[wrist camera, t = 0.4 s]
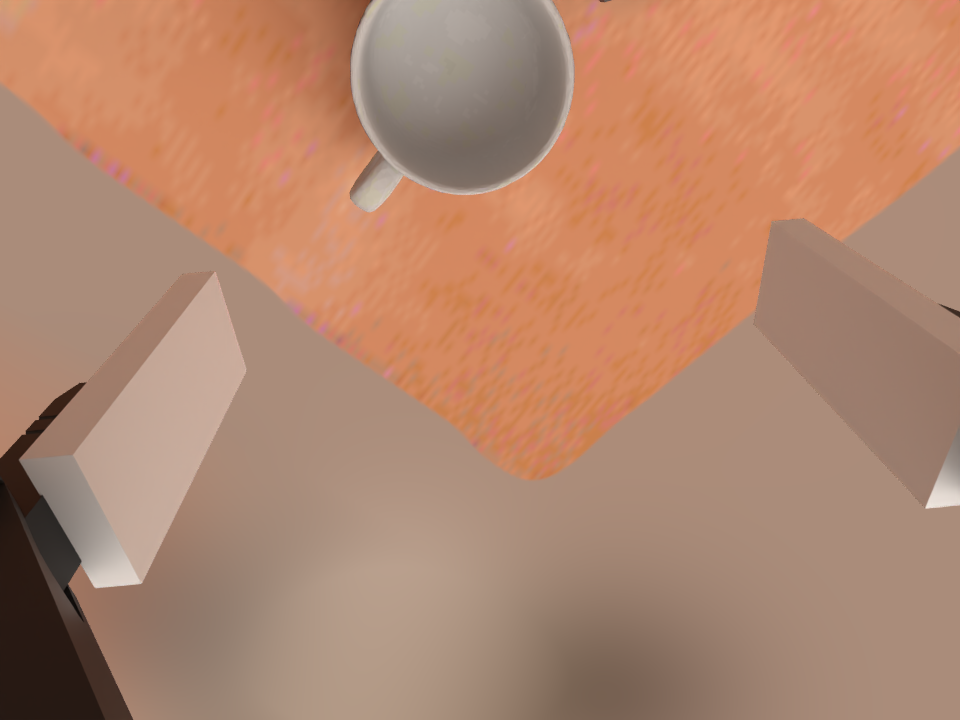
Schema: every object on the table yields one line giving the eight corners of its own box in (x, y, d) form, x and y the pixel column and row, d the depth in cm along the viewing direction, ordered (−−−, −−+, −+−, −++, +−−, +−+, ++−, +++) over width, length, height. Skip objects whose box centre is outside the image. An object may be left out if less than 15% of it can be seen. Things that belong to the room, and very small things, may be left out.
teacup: (477, -91, 33) (488, -113, 26) (585, 88, 37) (618, 110, 31) (286, 82, 36) (251, 103, 29) (406, 225, 41) (400, 272, 34)
